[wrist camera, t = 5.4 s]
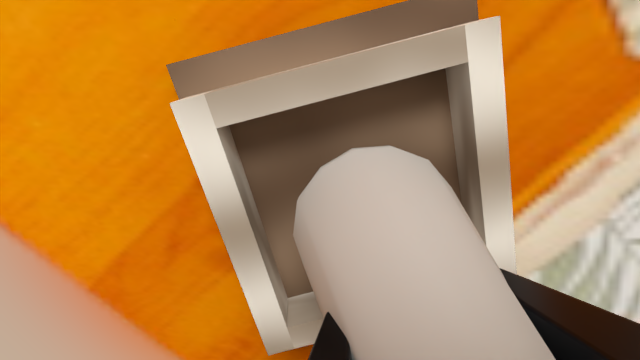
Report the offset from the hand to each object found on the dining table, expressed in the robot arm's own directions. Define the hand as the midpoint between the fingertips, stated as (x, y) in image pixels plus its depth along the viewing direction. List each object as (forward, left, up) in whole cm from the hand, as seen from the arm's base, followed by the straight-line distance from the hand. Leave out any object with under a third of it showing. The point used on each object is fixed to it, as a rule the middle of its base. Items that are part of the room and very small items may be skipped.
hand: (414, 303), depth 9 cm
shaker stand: (0, 0, -8) cm, 8 cm away
